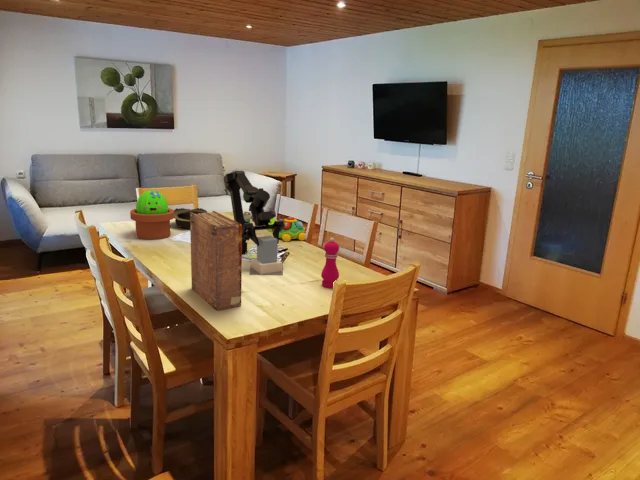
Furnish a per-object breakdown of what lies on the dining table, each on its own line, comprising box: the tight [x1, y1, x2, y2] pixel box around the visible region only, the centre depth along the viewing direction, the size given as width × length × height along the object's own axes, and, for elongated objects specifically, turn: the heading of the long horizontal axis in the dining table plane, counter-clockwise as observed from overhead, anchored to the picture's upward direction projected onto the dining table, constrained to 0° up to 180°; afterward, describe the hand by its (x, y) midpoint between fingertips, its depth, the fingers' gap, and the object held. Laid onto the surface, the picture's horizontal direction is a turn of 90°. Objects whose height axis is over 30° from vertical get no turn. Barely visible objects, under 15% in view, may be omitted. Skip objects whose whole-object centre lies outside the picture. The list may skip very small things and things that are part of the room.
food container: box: [243, 211, 253, 223], centre depth 279 cm, size 12×6×10 cm, turn 168°
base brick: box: [250, 257, 283, 274], centre depth 209 cm, size 10×10×4 cm
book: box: [189, 210, 243, 311], centre depth 176 cm, size 25×9×30 cm, turn 34°
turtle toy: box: [266, 216, 307, 243], centre depth 266 cm, size 17×23×12 cm
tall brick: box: [256, 235, 279, 264], centre depth 208 cm, size 7×7×10 cm
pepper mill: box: [320, 237, 340, 289], centre depth 195 cm, size 7×7×20 cm
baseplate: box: [248, 264, 284, 276], centre depth 210 cm, size 14×15×1 cm
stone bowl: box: [173, 207, 208, 230], centre depth 284 cm, size 25×25×9 cm
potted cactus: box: [129, 190, 175, 240], centre depth 257 cm, size 22×22×25 cm
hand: (268, 244), depth 206 cm, fingers open, 9 cm apart
